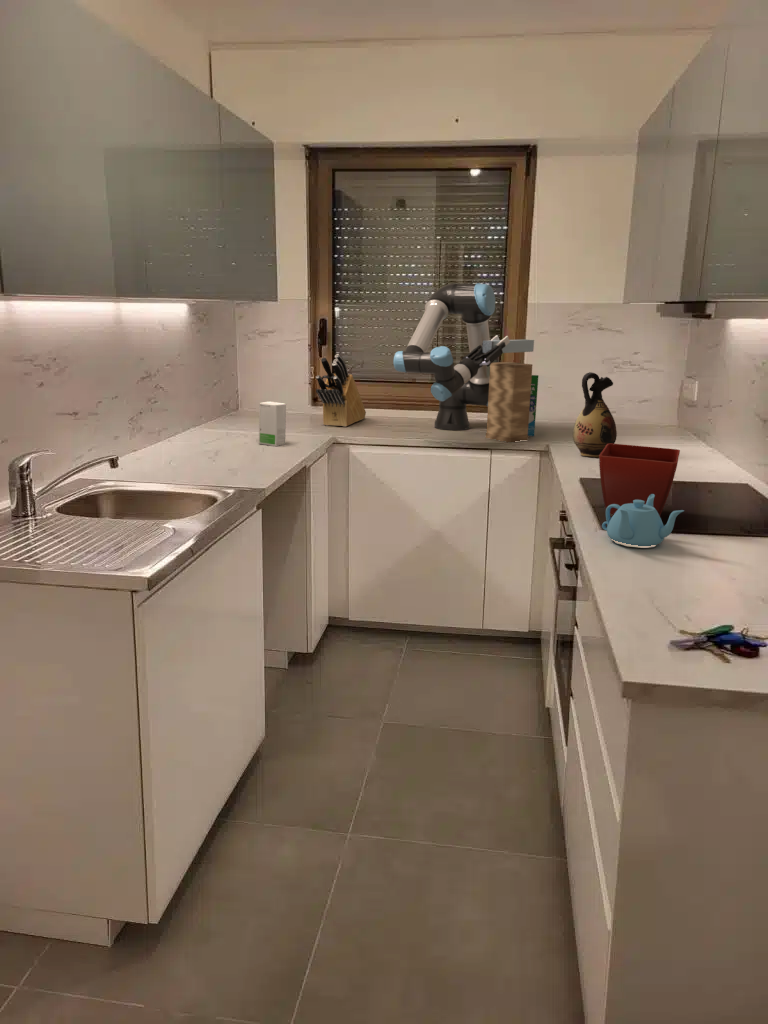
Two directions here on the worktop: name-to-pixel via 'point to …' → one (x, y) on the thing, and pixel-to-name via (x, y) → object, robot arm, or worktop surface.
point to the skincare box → (272, 423)
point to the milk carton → (533, 405)
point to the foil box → (510, 346)
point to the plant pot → (636, 474)
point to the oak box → (509, 401)
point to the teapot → (638, 523)
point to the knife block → (339, 395)
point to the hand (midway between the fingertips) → (503, 338)
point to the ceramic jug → (594, 419)
